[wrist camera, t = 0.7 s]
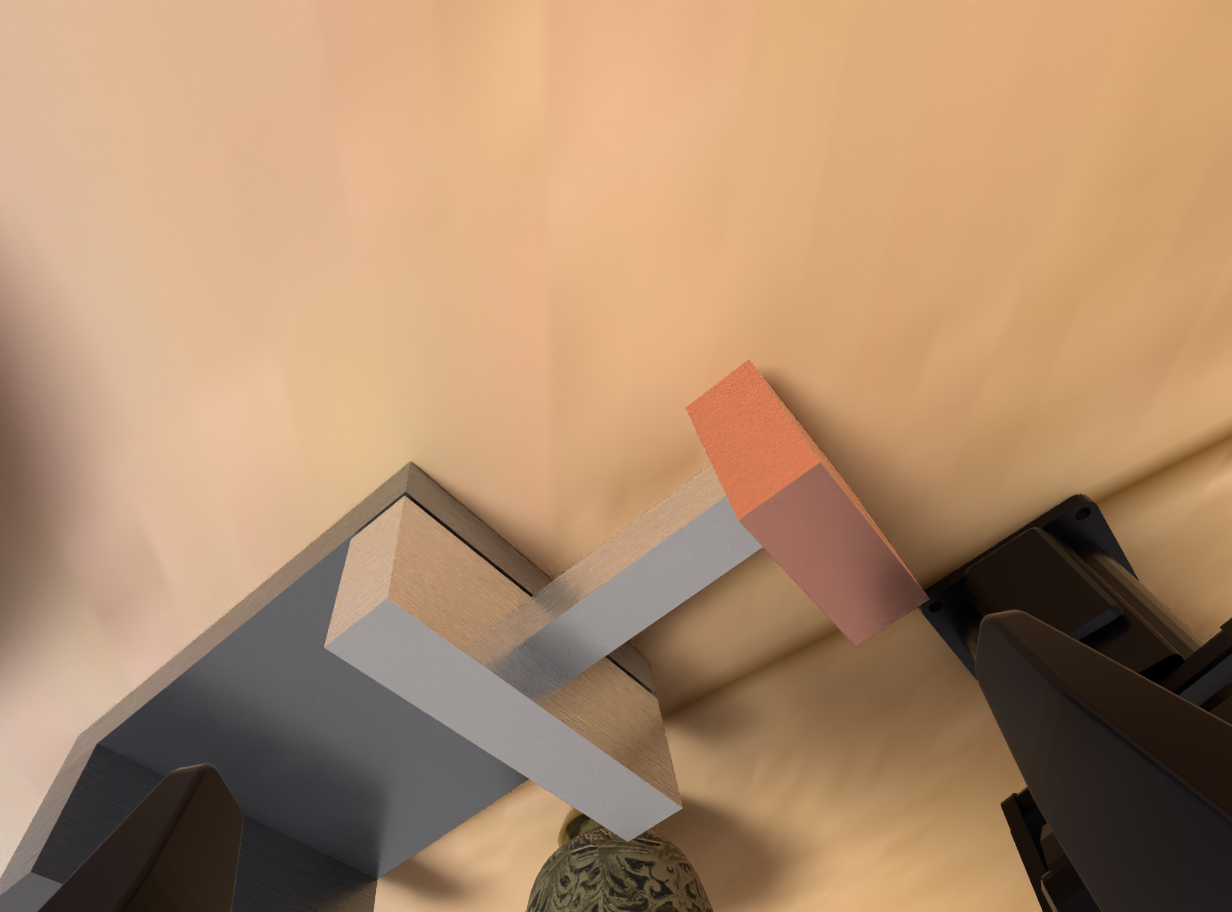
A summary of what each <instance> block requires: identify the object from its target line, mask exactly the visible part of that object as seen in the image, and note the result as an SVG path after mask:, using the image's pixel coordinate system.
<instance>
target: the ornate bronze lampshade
mask: <svg viewBox="0 0 1232 912" xmlns="http://www.w3.org/2000/svg"><path fill="white" fill-rule="evenodd" d="M558 845H559V849H557V850H556V851H555V852H554V853H553V854H552V856H551V857H550V858H549V859H548V860H547V861H546V863H545V864H544V866H543V867H542V869H541V870H540V872H539V874H538V876H537V878H536V880H535V882H534V885H533V888H532V890H531V893H530V897H529V901H528V906H527V910H526V912H713V910H712V907H711V905H710V902H709V900H708V897H707V895H706V892H705V890H704V888H703V886H702V884H701V881H700V879H699V877H698V876H697V874H696V872H695V870H694V868H693V867H692V865H691V863H690V862H689V861H688V859H687V858H686V857H685V855H684V854H683V853H682V852H681V851H680V850H679V849H678V848H677V847H676V846H675V845H674V844H673V843H672V842H670V841H669V840H667V839H666V838H664V837H663V836H661V835H659V834H657V833H655V832H653V827H651V828H650V829H648V830H647V831H645V832H643V833H642V834H640V835H638V836H637V837H635V838H634V839H632V840H630V841H629V842H627V841H626V840H624V839H623V838H621V837H619V836H618V835H616V834H615V833H613V832H612V831H610V830H608V829H607V828H605V827H604V826H602V825H601V824H599V823H597V822H596V821H594V820H593V819H591V818H590V817H588V816H587V815H585V814H583V813H582V812H580V811H579V810H577V809H576V808H573V809H572V810H571V811H570V812H569V813H568V814H567V816H566V817H565V819H564V821H563V823H562V826H561V829H560V832H559V836H558Z"/></svg>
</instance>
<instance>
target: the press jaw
mask: <svg viewBox="0 0 1232 912" xmlns="http://www.w3.org/2000/svg"><path fill="white" fill-rule="evenodd" d="M686 409H687V411H688V414H689V416H690V418H691V420H692V422H693V424H694V426H695V429H696V431H697V433H698V435H699V437H700V439H701V442H702V444H703V446H704V448H705V450H706V452H707V455H708V457H709V459H710V461H711V463H712V464H711V465H710V466H708V467H707V468H706V469H704V470H703V471H701V472H700V473H699V474H697V475H696V476H695V477H693V478H692V479H691V480H689V481H688V482H686V483H685V484H684V485H682V486H681V487H680V488H678V489H677V490H676V491H674V492H673V493H672V494H670V495H669V496H667V497H666V498H665V499H663V500H662V501H661V502H659V503H658V504H657V505H655V506H654V507H653V508H651V509H650V510H648V511H647V512H646V513H644V514H643V515H642V516H640V517H639V518H638V519H636V520H635V521H633V522H632V523H631V524H629V525H628V526H627V527H625V528H624V529H623V530H621V531H620V532H619V533H617V534H616V535H614V536H613V537H612V538H610V539H609V540H608V541H606V542H605V543H604V544H602V545H601V546H600V547H598V548H597V549H595V550H594V551H593V552H591V553H590V554H589V555H587V556H586V557H585V558H583V559H582V560H580V561H579V562H578V563H576V564H575V565H574V566H572V567H571V568H570V569H568V570H567V571H566V572H564V573H563V574H561V575H560V576H559V577H557V578H556V579H555V580H553V581H552V582H551V583H549V584H548V585H547V586H545V587H544V588H542V589H541V590H540V591H538V592H537V593H536V594H534V595H533V596H532V597H530V596H529V595H528V594H526V593H525V592H524V591H523V590H521V589H520V588H519V587H518V586H516V585H515V584H514V583H513V582H511V581H510V580H509V579H508V578H507V577H505V576H504V575H503V574H502V573H500V572H499V571H498V570H497V569H495V568H494V567H493V566H492V565H490V564H489V563H488V562H487V561H485V560H484V559H483V558H482V557H480V556H479V555H478V554H477V553H475V552H474V551H473V550H472V549H470V548H469V547H468V546H467V545H465V544H464V543H463V542H462V541H460V540H459V539H458V538H457V537H456V536H454V535H453V534H452V533H451V532H449V531H448V530H447V529H446V528H444V527H443V526H442V525H441V524H439V523H438V522H437V521H436V520H434V519H433V518H432V517H431V516H429V515H428V514H427V513H426V512H424V511H423V510H422V509H421V508H419V507H418V506H417V505H416V504H414V503H413V502H412V501H411V500H410V499H408V498H407V497H406V496H404V497H402V498H401V499H400V500H399V501H397V502H396V503H395V504H394V505H393V506H391V507H390V508H389V509H388V510H386V511H385V512H384V513H383V514H382V515H380V516H379V517H378V518H377V519H375V520H374V521H373V522H372V523H370V524H369V525H368V526H367V527H366V528H364V529H363V530H362V531H361V532H359V533H358V534H357V535H356V536H355V537H353V538H352V539H351V541H350V545H349V549H348V553H347V557H346V561H345V565H344V569H343V573H342V577H341V581H340V585H339V589H338V593H337V597H336V601H335V605H334V609H333V613H332V617H331V621H330V625H329V629H328V633H327V637H326V641H325V645H324V648H325V649H327V650H329V651H330V652H332V653H333V654H335V655H336V656H338V657H340V658H341V659H343V660H344V661H346V662H347V663H349V664H350V665H352V666H354V667H355V668H357V669H358V670H360V671H361V672H363V673H365V674H366V675H368V676H369V677H371V678H372V679H374V680H375V681H377V682H379V683H380V684H382V685H383V686H385V687H386V688H388V689H390V690H391V691H393V692H394V693H396V694H397V695H399V696H400V697H402V698H404V699H405V700H407V701H408V702H410V703H411V704H413V705H415V706H416V707H418V708H419V709H421V710H422V711H424V712H426V713H427V714H429V715H430V716H432V717H433V718H435V719H436V720H438V721H440V722H441V723H443V724H444V725H446V726H447V727H449V728H451V729H452V730H454V731H455V732H457V733H458V734H460V735H461V736H463V737H465V738H466V739H468V740H469V741H471V742H472V743H474V744H476V745H477V746H479V747H480V748H482V749H483V750H485V751H486V752H488V753H490V754H491V755H493V756H494V757H496V758H497V759H499V760H501V761H502V762H504V763H505V764H507V765H508V766H510V767H512V768H513V769H515V770H516V771H518V772H519V773H521V774H522V775H524V776H526V777H527V778H529V779H530V780H532V781H533V782H535V783H537V784H538V785H540V786H541V787H543V788H544V789H546V790H547V791H549V792H551V793H552V794H554V795H555V796H557V797H558V798H560V799H562V800H563V801H565V802H566V803H568V804H569V805H571V806H572V807H574V808H576V809H577V810H579V811H580V812H582V813H583V814H585V815H587V816H588V817H590V818H591V819H593V820H594V821H596V822H597V823H599V824H601V825H602V826H604V827H605V828H607V829H608V830H610V831H612V832H613V833H615V834H616V835H618V836H619V837H621V838H623V839H624V840H626V841H627V842H629V841H630V840H632V839H634V838H635V837H637V836H638V835H640V834H642V833H643V832H645V831H647V830H648V829H650V828H651V827H653V826H655V825H656V824H658V823H660V822H661V821H663V820H664V819H666V818H668V817H669V816H671V815H673V814H674V813H676V812H677V811H679V810H681V809H682V808H683V806H682V802H681V798H680V793H679V789H678V785H677V781H676V776H675V772H674V768H673V764H672V759H671V755H670V751H669V747H668V742H667V738H666V734H665V730H664V725H663V721H662V717H661V713H660V708H659V704H658V700H657V698H656V697H655V696H653V695H652V694H651V693H650V692H648V691H647V690H646V689H645V688H643V687H642V686H641V685H640V684H638V683H637V682H636V681H635V680H633V679H632V678H631V677H630V676H628V675H627V674H626V673H625V672H623V671H622V670H621V669H620V668H618V667H617V666H616V665H615V664H613V663H612V662H611V661H610V660H608V659H607V658H606V657H605V656H606V655H608V654H609V653H611V652H612V651H614V650H615V649H616V648H618V647H619V646H621V645H622V644H624V643H625V642H627V641H628V640H629V639H631V638H632V637H634V636H635V635H637V634H638V633H640V632H641V631H642V630H644V629H645V628H647V627H648V626H650V625H651V624H653V623H654V622H655V621H657V620H658V619H660V618H661V617H663V616H664V615H666V614H667V613H668V612H670V611H671V610H673V609H674V608H676V607H677V606H679V605H680V604H681V603H683V602H684V601H686V600H687V599H689V598H690V597H692V596H693V595H694V594H696V593H697V592H699V591H700V590H702V589H703V588H705V587H706V586H707V585H709V584H710V583H712V582H713V581H715V580H716V579H718V578H719V577H720V576H722V575H723V574H725V573H726V572H728V571H729V570H731V569H732V568H733V567H735V566H736V565H738V564H739V563H741V562H742V561H744V560H745V559H746V558H748V557H749V556H751V555H752V554H754V553H755V552H757V551H758V550H759V549H761V548H762V547H763V548H764V549H765V550H766V551H767V552H768V553H769V554H770V555H771V556H772V557H773V558H774V560H775V561H776V562H777V563H778V564H779V565H780V566H781V567H782V568H783V569H784V570H785V571H786V572H787V573H788V575H789V576H790V577H791V578H792V579H793V580H794V581H795V582H796V583H797V584H798V585H799V586H800V587H801V588H802V590H803V591H804V592H805V593H806V594H807V595H808V596H809V597H810V598H811V599H812V600H813V601H814V602H815V604H816V605H817V606H818V607H819V608H820V609H821V610H822V611H823V612H824V613H825V614H826V615H827V616H828V617H829V619H830V620H831V621H832V622H833V623H834V624H835V625H836V626H837V627H838V628H839V629H840V630H841V631H842V632H843V634H844V635H845V636H846V637H847V638H848V639H849V640H850V641H851V642H852V643H853V644H854V645H855V646H857V645H858V644H860V643H862V642H863V641H865V640H866V639H868V638H869V637H871V636H873V635H874V634H876V633H877V632H879V631H880V630H882V629H884V628H885V627H887V626H888V625H890V624H891V623H893V622H895V621H896V620H898V619H899V618H901V617H902V616H904V615H906V614H907V613H909V612H910V611H912V610H913V609H915V608H917V607H918V606H920V605H921V604H923V603H924V602H926V601H928V600H929V597H928V596H927V595H926V593H925V592H924V590H923V589H922V588H921V586H920V585H919V584H918V582H917V581H916V579H915V578H914V577H913V575H912V574H911V572H910V571H909V570H908V568H907V567H906V565H905V564H904V563H903V561H902V560H901V558H900V557H899V556H898V554H897V553H896V551H895V550H894V549H893V547H892V546H891V544H890V543H889V542H888V540H887V539H886V537H885V536H884V535H883V533H882V532H881V530H880V529H879V528H878V526H877V525H876V524H875V522H874V521H873V519H872V518H871V517H870V515H869V514H868V512H867V511H866V510H865V508H864V507H863V505H862V504H861V503H860V501H859V500H858V498H857V497H856V496H855V494H854V493H853V491H852V490H851V489H850V487H849V486H848V484H847V483H846V482H845V480H844V479H843V478H842V477H841V475H840V474H839V473H838V471H837V470H836V469H835V468H834V466H833V465H832V464H831V463H830V461H829V460H828V459H827V458H826V456H825V455H824V454H823V452H822V451H821V450H820V449H819V447H818V446H817V445H816V444H815V442H814V441H813V440H812V439H811V437H810V436H809V435H808V433H807V432H806V431H805V430H804V428H803V427H802V426H801V425H800V423H799V422H798V421H797V420H796V418H795V417H794V416H793V414H792V413H791V412H790V411H789V409H788V408H787V407H786V406H785V404H784V403H783V402H782V401H781V399H780V398H779V397H778V395H777V394H776V393H775V392H774V390H773V389H772V388H771V387H770V385H769V384H768V383H767V382H766V380H765V379H764V378H763V376H762V375H761V374H760V373H759V371H758V370H757V369H756V368H755V366H754V365H753V364H752V363H751V361H750V360H748V361H746V362H745V363H744V364H742V365H741V366H740V367H738V368H737V369H736V370H735V371H733V372H732V373H731V374H729V375H728V376H727V377H725V378H724V379H723V380H721V381H720V382H719V383H718V384H716V385H715V386H714V387H712V388H711V389H710V390H708V391H707V392H706V393H704V394H703V395H702V396H700V397H699V398H698V399H697V400H695V401H694V402H693V403H691V404H690V405H689V406H687V407H686Z"/></svg>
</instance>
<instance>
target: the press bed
mask: <svg viewBox="0 0 1232 912" xmlns="http://www.w3.org/2000/svg"><path fill="white" fill-rule="evenodd" d="M404 496H406V497H407V498H408V499H410V500H411V501H412V502H413V503H414V504H416V505H417V506H418V507H419V508H421V509H422V510H423V511H424V512H426V513H427V514H428V515H429V516H431V517H432V518H433V519H434V520H436V521H437V522H438V523H439V524H441V525H442V526H443V527H444V528H446V529H447V530H448V531H449V532H451V533H452V534H453V535H454V536H456V537H457V538H458V539H459V540H460V541H462V542H463V543H464V544H465V545H467V546H468V547H469V548H470V549H472V550H473V551H474V552H475V553H477V554H478V555H479V556H480V557H482V558H483V559H484V560H485V561H487V562H488V563H489V564H490V565H492V566H493V567H494V568H495V569H497V570H498V571H499V572H500V573H502V574H503V575H504V576H505V577H507V578H508V579H509V580H510V581H511V582H513V583H514V584H515V585H516V586H518V587H519V588H520V589H521V590H523V591H524V592H525V593H526V594H528V595H529V596H530V597H532V596H533V595H534V594H536V593H537V592H538V591H540V590H541V589H542V588H544V587H545V586H547V585H548V584H549V583H551V582H552V580H551V579H550V578H549V577H548V576H546V575H545V574H544V573H543V572H542V571H540V570H539V569H538V568H537V567H536V566H534V565H533V564H532V563H531V562H530V561H529V560H527V559H526V558H525V557H524V556H523V555H521V554H520V553H519V552H518V551H517V550H515V549H514V548H513V547H512V546H511V545H509V544H508V543H507V542H506V541H505V540H503V539H502V538H501V537H500V536H499V535H497V534H496V533H495V532H494V531H493V530H491V529H490V528H489V527H488V526H487V525H485V524H484V523H483V522H482V521H481V520H479V519H478V518H477V517H476V516H475V515H473V514H472V513H471V512H470V511H469V510H467V509H466V508H465V507H464V506H463V505H461V504H460V503H459V502H458V501H457V500H455V499H454V498H453V497H452V496H451V495H449V494H448V493H447V492H446V491H445V490H443V489H442V488H441V487H440V486H439V485H438V484H436V483H435V482H434V481H433V480H432V479H430V478H429V477H428V476H427V475H426V474H424V473H423V472H422V471H421V470H420V469H418V468H417V467H416V466H415V465H414V464H412V463H411V462H409V463H408V464H407V465H406V466H405V467H403V468H402V469H401V470H400V471H399V472H397V473H396V474H395V475H394V476H393V477H391V478H390V479H389V480H388V481H387V482H385V483H384V484H383V485H382V486H380V487H379V488H378V489H377V490H376V491H374V492H373V493H372V494H371V495H370V496H368V497H367V498H366V499H365V500H364V501H362V502H361V503H360V504H359V505H358V506H356V507H355V508H354V509H353V510H351V511H350V512H349V513H348V514H347V515H345V516H344V517H343V518H342V519H341V520H339V521H338V522H337V523H336V524H335V525H333V526H332V527H331V528H330V529H329V530H327V531H326V532H325V533H324V534H323V535H321V536H320V537H319V538H318V539H316V540H315V541H314V542H313V543H312V544H310V545H309V546H308V547H307V548H306V549H304V550H303V551H302V552H301V553H300V554H298V555H297V556H296V557H295V558H294V559H292V560H291V561H290V562H289V563H287V564H286V565H285V566H284V567H283V568H281V569H280V570H279V571H278V572H277V573H275V574H274V575H273V576H272V577H271V578H269V579H268V580H267V581H266V582H265V583H263V584H262V585H261V586H260V587H259V588H257V589H256V590H255V591H254V592H252V593H251V594H250V595H249V596H248V597H246V598H245V599H244V600H243V601H242V602H240V603H239V604H238V605H237V606H236V607H234V608H233V609H232V610H231V611H230V612H228V613H227V614H226V615H225V616H224V617H222V618H221V619H220V620H219V621H217V622H216V623H215V624H214V625H213V626H211V627H210V628H209V629H208V630H207V631H205V632H204V633H203V634H202V635H201V636H199V637H198V638H197V639H196V640H195V641H193V642H192V643H191V644H190V645H188V646H187V647H186V648H185V649H184V650H182V651H181V652H180V653H179V654H178V655H176V656H175V657H174V658H173V659H172V660H170V661H169V662H168V663H167V664H166V665H164V666H163V667H162V668H161V669H160V670H158V671H157V672H156V673H155V674H153V675H152V676H151V677H150V678H149V679H147V680H146V681H145V682H144V683H143V684H141V685H140V686H139V687H138V688H137V689H135V690H134V691H133V692H132V693H131V694H129V695H128V696H127V697H126V698H124V699H123V700H122V701H121V702H120V703H118V704H117V705H116V706H115V707H114V708H112V709H111V710H110V711H109V712H108V713H106V714H105V715H104V716H103V717H102V718H100V719H99V720H98V721H97V722H96V723H94V724H93V725H92V726H91V727H89V728H88V729H87V730H86V731H85V732H83V733H82V734H81V735H80V736H79V737H78V738H77V740H76V742H75V743H74V745H73V747H72V749H71V751H70V753H69V754H68V756H67V758H66V760H65V762H64V764H63V765H62V767H61V769H60V771H59V773H58V774H57V776H56V778H55V780H54V782H53V784H52V785H51V787H50V789H49V791H48V793H47V795H46V796H45V798H44V800H43V802H42V804H41V805H40V807H39V809H38V811H37V813H36V815H35V816H34V818H33V820H32V822H31V824H30V826H29V827H28V829H27V831H26V833H25V835H24V837H23V838H22V840H21V842H20V844H19V846H18V847H17V849H16V851H15V853H14V855H13V857H12V858H11V860H10V862H9V864H8V866H7V868H6V869H5V871H4V873H3V875H2V877H1V878H0V912H37V911H38V910H39V909H40V908H41V907H42V906H43V905H44V904H45V903H46V902H47V901H48V899H49V898H50V897H51V896H52V895H53V894H54V893H55V892H56V891H57V890H58V889H59V888H60V887H61V886H62V885H63V884H64V883H65V882H66V881H67V880H68V878H69V877H70V876H71V875H72V874H73V873H74V872H75V871H76V870H77V869H78V868H79V867H80V866H81V865H82V864H83V863H84V862H85V861H86V860H87V859H88V857H89V856H90V855H91V854H92V853H93V852H94V851H95V850H96V849H97V848H98V847H99V846H100V845H101V844H102V843H103V842H104V841H105V840H106V839H107V837H108V836H109V835H110V834H111V833H112V832H113V831H114V830H115V829H116V828H117V827H118V826H119V825H120V824H121V823H122V822H123V821H124V820H125V819H126V818H127V816H128V815H129V814H130V813H131V812H132V811H133V810H134V809H135V808H136V807H137V806H138V805H139V804H140V803H141V802H142V801H143V800H144V799H145V798H146V797H147V795H148V794H149V793H150V792H151V791H152V790H153V789H154V788H155V787H156V786H157V785H158V784H159V783H160V782H161V781H162V780H163V779H164V778H165V777H166V776H167V775H168V774H169V773H170V772H172V771H173V770H176V769H178V768H183V767H188V766H193V765H198V764H204V763H210V764H212V765H213V766H215V767H216V768H217V769H218V771H219V772H220V774H221V775H222V777H223V779H224V780H225V782H226V784H227V785H228V787H229V788H230V790H231V792H232V793H233V795H234V797H235V798H236V800H237V801H238V803H239V805H240V807H241V811H242V816H243V830H242V837H241V845H240V852H239V859H238V867H237V874H236V882H235V889H234V897H233V904H232V911H231V912H373V911H374V903H375V895H376V887H377V879H379V878H380V877H382V876H383V875H385V874H386V873H388V872H389V871H391V870H392V869H394V868H395V867H397V866H398V865H400V864H401V863H403V862H404V861H406V860H407V859H409V858H410V857H412V856H413V855H415V854H416V853H418V852H419V851H421V850H422V849H424V848H425V847H427V846H428V845H430V844H431V843H433V842H434V841H436V840H437V839H439V838H440V837H442V836H443V835H445V834H446V833H448V832H449V831H451V830H452V829H454V828H455V827H457V826H458V825H460V824H461V823H463V822H464V821H466V820H467V819H469V818H470V817H472V816H473V815H475V814H476V813H478V812H479V811H481V810H482V809H484V808H485V807H487V806H488V805H490V804H491V803H493V802H495V801H496V800H498V799H499V798H501V797H502V796H504V795H505V794H507V793H508V792H510V791H511V790H513V789H514V788H516V787H517V786H519V785H520V784H522V783H523V782H525V781H526V780H528V779H529V778H527V777H526V776H524V775H522V774H521V773H519V772H518V771H516V770H515V769H513V768H512V767H510V766H508V765H507V764H505V763H504V762H502V761H501V760H499V759H497V758H496V757H494V756H493V755H491V754H490V753H488V752H486V751H485V750H483V749H482V748H480V747H479V746H477V745H476V744H474V743H472V742H471V741H469V740H468V739H466V738H465V737H463V736H461V735H460V734H458V733H457V732H455V731H454V730H452V729H451V728H449V727H447V726H446V725H444V724H443V723H441V722H440V721H438V720H436V719H435V718H433V717H432V716H430V715H429V714H427V713H426V712H424V711H422V710H421V709H419V708H418V707H416V706H415V705H413V704H411V703H410V702H408V701H407V700H405V699H404V698H402V697H400V696H399V695H397V694H396V693H394V692H393V691H391V690H390V689H388V688H386V687H385V686H383V685H382V684H380V683H379V682H377V681H375V680H374V679H372V678H371V677H369V676H368V675H366V674H365V673H363V672H361V671H360V670H358V669H357V668H355V667H354V666H352V665H350V664H349V663H347V662H346V661H344V660H343V659H341V658H340V657H338V656H336V655H335V654H333V653H332V652H330V651H329V650H327V649H325V648H324V645H325V641H326V637H327V633H328V629H329V625H330V621H331V617H332V613H333V609H334V605H335V601H336V597H337V593H338V589H339V585H340V581H341V577H342V573H343V569H344V565H345V561H346V557H347V553H348V549H349V545H350V541H351V539H352V538H353V537H355V536H356V535H357V534H358V533H359V532H361V531H362V530H363V529H364V528H366V527H367V526H368V525H369V524H370V523H372V522H373V521H374V520H375V519H377V518H378V517H379V516H380V515H382V514H383V513H384V512H385V511H386V510H388V509H389V508H390V507H391V506H393V505H394V504H395V503H396V502H397V501H399V500H400V499H401V498H402V497H404ZM605 657H606V658H607V659H608V660H610V661H611V662H612V663H613V664H615V665H616V666H617V667H618V668H620V669H621V670H622V671H623V672H625V673H626V674H627V675H628V676H630V677H631V678H632V679H633V680H635V681H636V682H637V683H638V684H640V685H641V686H642V687H643V688H645V689H646V690H647V691H648V692H650V693H651V694H652V695H653V696H654V695H655V694H656V691H655V687H654V683H653V678H652V674H651V670H650V666H649V661H648V660H647V659H646V658H645V657H643V656H642V655H641V654H640V653H639V652H637V651H636V650H635V649H634V648H633V647H631V646H630V645H629V644H628V643H627V642H625V643H624V644H622V645H621V646H619V647H618V648H616V649H615V650H614V651H612V652H611V653H609V654H608V655H606V656H605Z"/></svg>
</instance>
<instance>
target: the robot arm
mask: <svg viewBox="0 0 1232 912" xmlns="http://www.w3.org/2000/svg"><path fill="white" fill-rule="evenodd" d="M924 592H925V593H926V595H927V596H928V597H929V600H928V601H926V602H924V603H923V604H921V605H920V606H918V608H919V609H920V611H921V612H922V614H923V615H924V616H925V617H926V619H927V620H928V621H929V622H930V623H931V625H932V626H933V627H934V628H935V630H936V631H937V632H938V633H939V634H940V636H941V637H942V638H943V639H944V641H945V642H946V643H947V644H948V645H949V647H950V648H951V649H952V650H953V652H954V653H955V654H956V655H957V656H958V658H959V659H960V660H961V661H962V662H963V664H964V665H965V666H966V667H967V669H968V670H969V671H970V672H971V673H972V675H973V676H974V677H975V678H976V680H977V681H978V683H979V686H980V688H981V690H982V692H983V694H984V696H985V698H986V700H987V703H988V705H989V707H990V709H991V711H992V713H993V715H994V717H995V719H996V721H997V723H998V726H999V728H1000V730H1001V732H1002V734H1003V736H1004V738H1005V740H1006V742H1007V744H1008V747H1009V749H1010V751H1011V753H1012V755H1013V757H1014V759H1015V761H1016V763H1017V765H1018V768H1019V770H1020V772H1021V774H1022V776H1023V778H1024V780H1025V782H1026V784H1027V787H1026V788H1025V789H1023V790H1022V791H1021V792H1020V793H1018V794H1016V793H1013V794H1012V795H1011V796H1009V797H1008V798H1007V799H1006V800H1004V801H1003V802H1002V803H1001V807H1002V810H1003V812H1004V815H1005V817H1006V820H1007V822H1008V825H1009V827H1010V831H1011V835H1012V837H1013V839H1014V842H1015V844H1016V847H1017V849H1018V852H1019V854H1020V857H1021V859H1022V862H1023V864H1024V867H1025V869H1026V871H1027V874H1028V876H1029V879H1030V881H1031V884H1032V886H1033V889H1034V891H1035V894H1036V896H1037V898H1038V901H1039V903H1040V906H1041V908H1042V911H1043V912H1232V618H1230V619H1229V620H1228V621H1227V622H1225V623H1224V624H1223V625H1222V626H1220V628H1221V629H1222V631H1220V632H1219V633H1218V634H1217V635H1215V636H1214V637H1213V638H1212V639H1210V640H1209V641H1208V642H1207V643H1205V642H1204V641H1203V640H1202V639H1201V638H1200V637H1199V636H1198V635H1196V634H1195V633H1194V632H1193V631H1192V630H1191V629H1190V628H1189V627H1188V626H1187V625H1186V624H1184V623H1183V622H1182V621H1181V620H1180V619H1179V618H1178V617H1177V616H1176V615H1175V614H1174V613H1172V612H1171V611H1170V610H1169V609H1168V608H1167V607H1166V606H1165V605H1164V604H1163V603H1162V602H1161V601H1159V600H1158V599H1157V598H1156V597H1155V596H1154V595H1153V594H1152V593H1151V592H1150V591H1149V590H1147V589H1146V588H1145V587H1144V586H1143V585H1142V584H1141V583H1140V582H1139V580H1138V578H1137V576H1136V575H1135V573H1134V571H1133V569H1132V567H1131V566H1130V564H1129V562H1128V560H1127V558H1126V557H1125V555H1124V553H1123V551H1122V549H1121V547H1120V546H1119V544H1118V542H1117V540H1116V538H1115V537H1114V535H1113V533H1112V531H1111V529H1110V528H1109V526H1108V524H1107V522H1106V520H1105V519H1104V517H1103V515H1102V513H1101V511H1100V510H1099V508H1098V506H1097V505H1096V504H1095V503H1094V502H1093V501H1092V500H1091V499H1090V498H1088V497H1087V496H1086V495H1082V494H1080V495H1075V496H1073V497H1071V498H1069V499H1067V500H1066V501H1064V502H1063V503H1061V504H1060V505H1058V506H1056V507H1055V508H1053V509H1052V510H1050V511H1049V512H1047V513H1046V514H1044V515H1042V516H1041V517H1039V518H1038V519H1036V520H1035V521H1033V522H1031V523H1030V524H1028V525H1027V526H1025V527H1024V528H1022V529H1021V530H1019V531H1017V532H1016V533H1014V534H1013V535H1011V536H1010V537H1008V538H1006V539H1005V540H1003V541H1002V542H1000V543H999V544H997V545H995V546H994V547H992V548H991V549H989V550H988V551H986V552H985V553H983V554H981V555H980V556H978V557H977V558H975V559H974V560H972V561H970V562H969V563H967V564H966V565H964V566H963V567H961V568H960V569H958V570H956V571H955V572H953V573H952V574H950V575H949V576H947V577H945V578H944V579H942V580H941V581H939V582H938V583H936V584H935V585H933V586H931V587H930V588H928V589H927V590H925V591H924ZM933 602H934V603H933ZM932 603H933V604H932ZM242 830H243V816H242V811H241V807H240V805H239V803H238V801H237V800H236V798H235V797H234V795H233V793H232V792H231V790H230V788H229V787H228V785H227V784H226V782H225V780H224V779H223V777H222V775H221V774H220V772H219V771H218V769H217V768H216V767H215V766H213V765H212V764H210V763H204V764H198V765H193V766H188V767H183V768H178V769H176V770H173V771H172V772H170V773H169V774H168V775H167V776H166V777H165V778H164V779H163V780H162V781H161V782H160V783H159V784H158V785H157V786H156V787H155V788H154V789H153V790H152V791H151V792H150V793H149V794H148V795H147V797H146V798H145V799H144V800H143V801H142V802H141V803H140V804H139V805H138V806H137V807H136V808H135V809H134V810H133V811H132V812H131V813H130V814H129V815H128V816H127V818H126V819H125V820H124V821H123V822H122V823H121V824H120V825H119V826H118V827H117V828H116V829H115V830H114V831H113V832H112V833H111V834H110V835H109V836H108V837H107V839H106V840H105V841H104V842H103V843H102V844H101V845H100V846H99V847H98V848H97V849H96V850H95V851H94V852H93V853H92V854H91V855H90V856H89V857H88V859H87V860H86V861H85V862H84V863H83V864H82V865H81V866H80V867H79V868H78V869H77V870H76V871H75V872H74V873H73V874H72V875H71V876H70V877H69V878H68V880H67V881H66V882H65V883H64V884H63V885H62V886H61V887H60V888H59V889H58V890H57V891H56V892H55V893H54V894H53V895H52V896H51V897H50V898H49V899H48V901H47V902H46V903H45V904H44V905H43V906H42V907H41V908H40V909H39V910H38V911H37V912H231V911H232V904H233V897H234V889H235V882H236V874H237V867H238V859H239V852H240V845H241V837H242Z"/></svg>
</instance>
